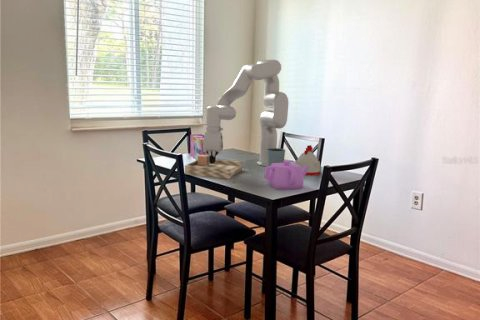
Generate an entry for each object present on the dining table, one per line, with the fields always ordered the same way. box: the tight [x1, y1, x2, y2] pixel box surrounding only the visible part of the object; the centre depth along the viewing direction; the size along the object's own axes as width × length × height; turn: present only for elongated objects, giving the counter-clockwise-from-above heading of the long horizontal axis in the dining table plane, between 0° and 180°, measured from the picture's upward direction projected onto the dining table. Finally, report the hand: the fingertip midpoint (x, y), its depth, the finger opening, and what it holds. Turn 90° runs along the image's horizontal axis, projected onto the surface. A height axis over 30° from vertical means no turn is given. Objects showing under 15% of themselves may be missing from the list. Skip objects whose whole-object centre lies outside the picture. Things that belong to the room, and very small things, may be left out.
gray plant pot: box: [267, 147, 286, 166], centre depth 231 cm, size 10×10×12 cm
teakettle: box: [263, 159, 309, 191], centre depth 199 cm, size 17×17×12 cm
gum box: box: [189, 133, 213, 160], centre depth 259 cm, size 24×8×14 cm, turn 23°
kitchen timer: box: [294, 145, 321, 177], centre depth 230 cm, size 14×14×15 cm
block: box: [198, 155, 210, 166], centre depth 230 cm, size 5×5×5 cm
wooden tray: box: [184, 159, 243, 179], centre depth 224 cm, size 24×22×4 cm
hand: (212, 163), depth 229 cm, fingers closed
